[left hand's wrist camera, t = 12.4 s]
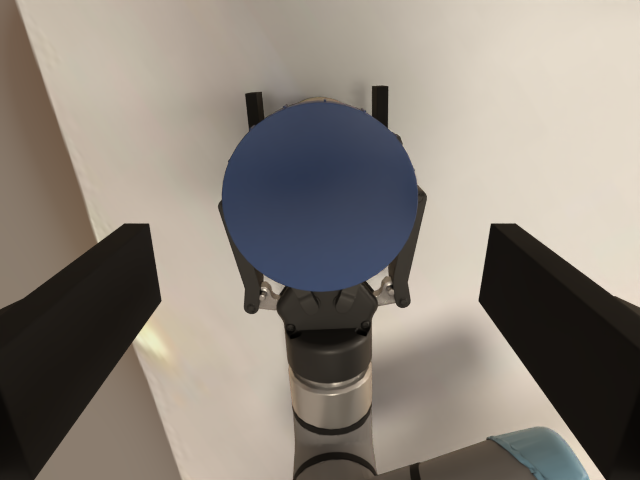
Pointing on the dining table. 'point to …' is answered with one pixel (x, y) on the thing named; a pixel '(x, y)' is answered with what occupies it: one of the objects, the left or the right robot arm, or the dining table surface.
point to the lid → (319, 196)
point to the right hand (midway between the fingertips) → (316, 89)
